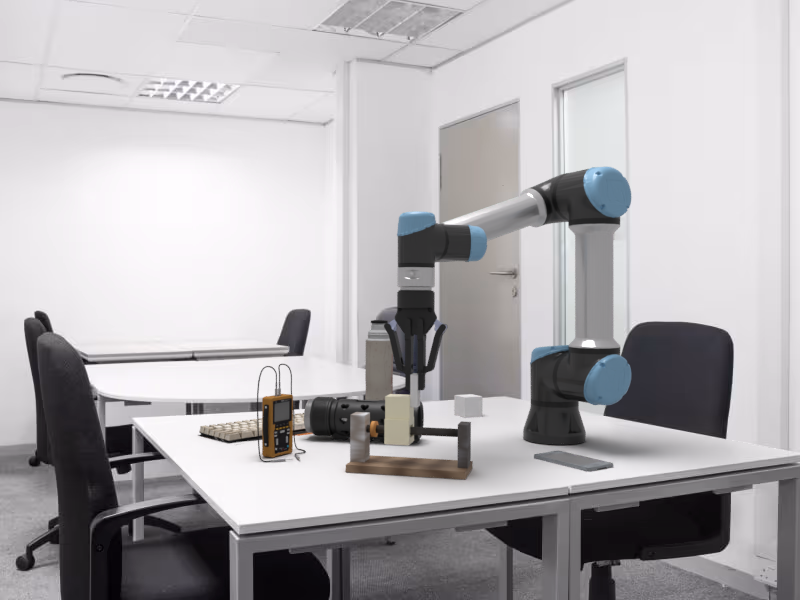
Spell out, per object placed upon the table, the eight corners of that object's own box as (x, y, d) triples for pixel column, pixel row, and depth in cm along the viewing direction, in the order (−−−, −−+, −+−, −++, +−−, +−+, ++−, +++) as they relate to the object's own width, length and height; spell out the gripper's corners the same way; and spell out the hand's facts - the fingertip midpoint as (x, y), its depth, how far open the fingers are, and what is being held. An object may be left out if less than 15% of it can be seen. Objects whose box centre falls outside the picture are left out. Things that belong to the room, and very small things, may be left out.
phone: (587, 474, 158) (588, 468, 158) (531, 460, 171) (531, 454, 171) (614, 469, 162) (615, 463, 162) (558, 455, 176) (558, 450, 176)
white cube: (454, 415, 231) (454, 395, 231) (471, 414, 234) (471, 394, 234) (464, 418, 226) (464, 397, 226) (482, 416, 228) (482, 396, 228)
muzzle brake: (416, 447, 183) (417, 402, 183) (302, 441, 189) (302, 398, 188) (423, 439, 192) (424, 397, 192) (314, 434, 198) (314, 394, 198)
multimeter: (286, 466, 161) (286, 369, 161) (249, 460, 167) (250, 366, 167) (329, 453, 174) (329, 364, 174) (294, 448, 179) (294, 361, 179)
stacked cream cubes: (414, 440, 160) (414, 394, 160) (408, 445, 156) (409, 397, 155) (390, 439, 162) (390, 393, 161) (384, 444, 157) (384, 396, 157)
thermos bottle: (392, 414, 232) (393, 319, 232) (392, 418, 224) (392, 320, 224) (365, 414, 232) (366, 319, 232) (364, 418, 224) (365, 320, 224)
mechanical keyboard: (234, 448, 183) (234, 433, 183) (193, 437, 196) (193, 424, 196) (356, 430, 209) (356, 417, 209) (312, 422, 223) (312, 410, 223)
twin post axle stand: (472, 468, 160) (472, 414, 160) (465, 479, 150) (465, 422, 150) (359, 461, 166) (360, 409, 166) (345, 472, 156) (346, 417, 156)
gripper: (380, 288, 155) (379, 407, 155) (444, 289, 152) (443, 410, 153) (389, 289, 163) (388, 402, 163) (451, 289, 160) (450, 405, 160)
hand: (415, 406), depth 158 cm, fingers closed
